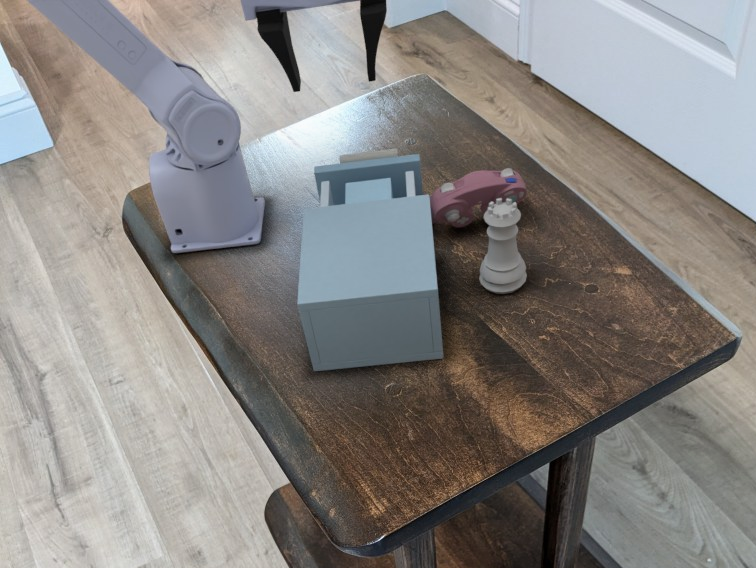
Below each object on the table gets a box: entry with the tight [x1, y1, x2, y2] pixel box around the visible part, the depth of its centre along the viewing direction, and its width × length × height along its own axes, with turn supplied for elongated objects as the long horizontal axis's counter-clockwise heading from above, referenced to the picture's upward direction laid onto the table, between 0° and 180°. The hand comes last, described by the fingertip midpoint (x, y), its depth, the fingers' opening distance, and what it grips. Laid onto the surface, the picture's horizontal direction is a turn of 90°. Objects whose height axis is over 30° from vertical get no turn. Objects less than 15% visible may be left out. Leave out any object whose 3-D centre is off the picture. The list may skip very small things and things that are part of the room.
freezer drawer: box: [313, 148, 424, 207], centre depth 84 cm, size 17×10×6 cm, turn 1°
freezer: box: [296, 193, 444, 372], centre depth 77 cm, size 14×12×8 cm
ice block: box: [345, 178, 393, 204], centre depth 83 cm, size 4×4×4 cm
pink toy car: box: [429, 167, 528, 228], centre depth 85 cm, size 10×5×7 cm, turn 104°
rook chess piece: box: [478, 198, 528, 295], centre depth 78 cm, size 4×4×8 cm
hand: (334, 81), depth 87 cm, fingers open, 7 cm apart
